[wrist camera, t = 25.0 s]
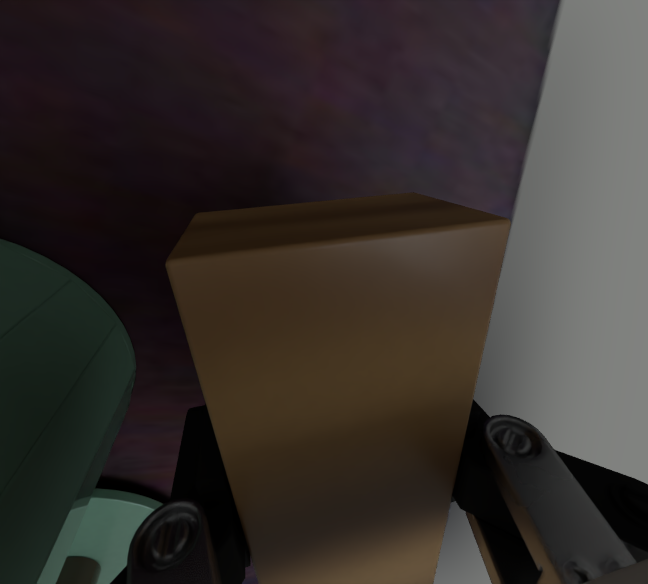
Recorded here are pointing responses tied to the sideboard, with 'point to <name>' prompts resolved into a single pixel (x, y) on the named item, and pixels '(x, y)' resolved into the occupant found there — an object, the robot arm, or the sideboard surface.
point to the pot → (53, 408)
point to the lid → (105, 536)
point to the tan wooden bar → (340, 373)
